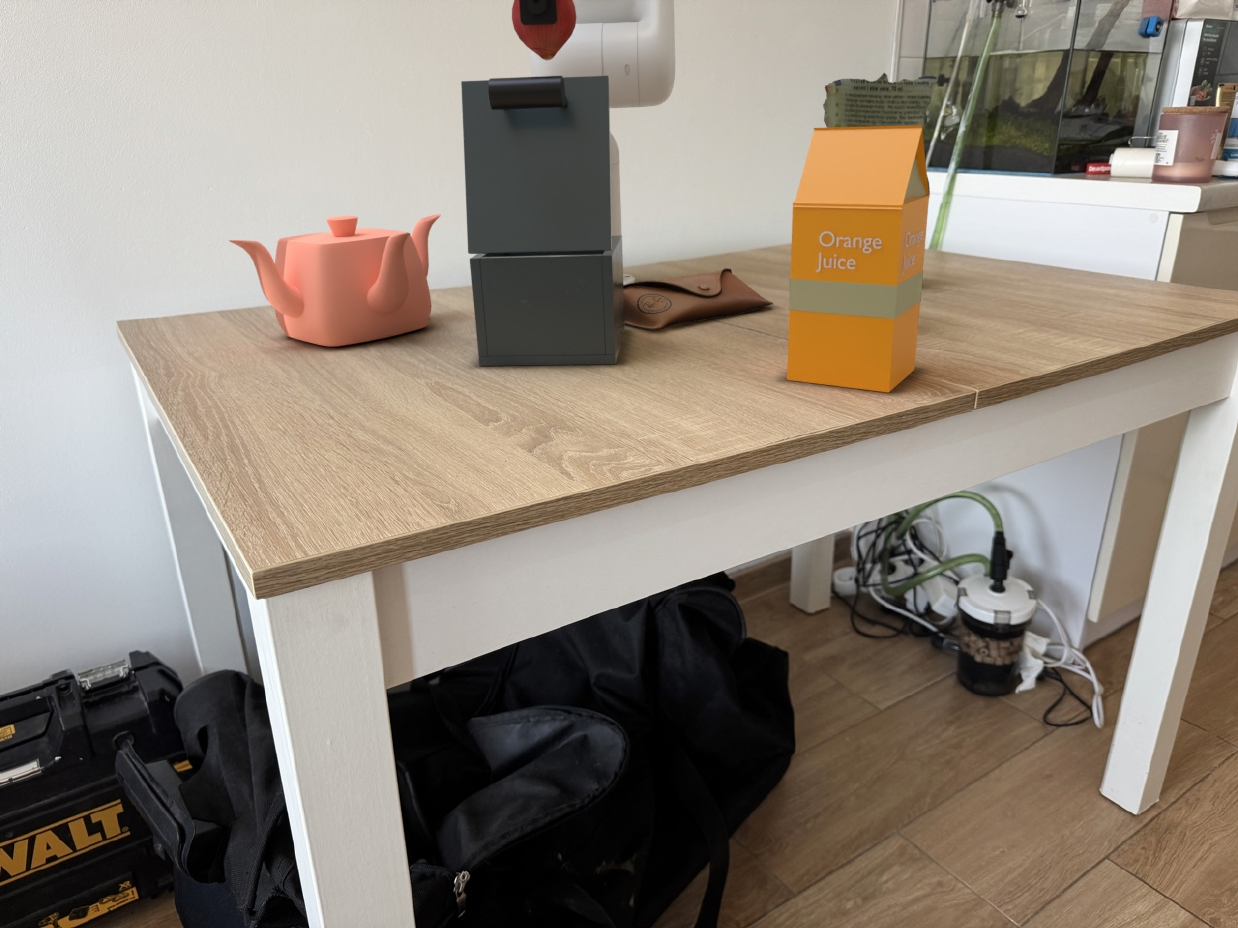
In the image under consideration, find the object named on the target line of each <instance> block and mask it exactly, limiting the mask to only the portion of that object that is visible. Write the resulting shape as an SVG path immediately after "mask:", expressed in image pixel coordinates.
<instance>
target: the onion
mask: <svg viewBox="0 0 1238 928" xmlns="http://www.w3.org/2000/svg"><path fill="white" fill-rule="evenodd" d="M557 18H558V19H557V22H556V23H555V24H548V25H523V24H522V23H521V20H520V5H519V0H513V3H512V7H511V21H512V26H513V30H514V31H515V33H516V35H517V37H518V39H519V40H520V41H521V42H522V43H523V44H524V45H525V47H527V48H528V49H530V51H531V50H532V51H533V52H535V53H536V54H537V55H538V56H540V57H541V58H542V59H544V60H551V59H553V58H554V57H555V55H556V54H557V52H558V51H559V50H560V49H561V48H562V46H563V45H564V44H565V43H566V42H567V40H568V39H569V38H570V37H571V35H572V33H573V31H574V29H575V25H576V10H575V6H574V3H573V0H557Z"/></svg>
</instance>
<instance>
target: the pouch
mask: <svg viewBox="0 0 1238 928" xmlns="http://www.w3.org/2000/svg"><path fill="white" fill-rule="evenodd" d="M938 81H939V77H938V76H934V75H932V73H929V74H924V75H922V76H918V77H917V78H916V79H912V80H911V79H904V78H903V79H900V80H898V81H893V82H892V81H889V79H888V75H887V74H886V73H885V72H883V73H882V74H881V76H880V77H878V78H877V79H875V80H873V81H872V80H871V81H870V80H868V79H865V78H840V79H836V80H833V81H832V82H830V83H828V84H827V85H826V84H825V85H824V91H825V93H826V94H825V95H826V98H825V100H824V103H823V104H822V107H823V109H824V114H823V115H824V116H823V122H824V124H825V126H826V127H825V128H832V127H876V126H919V125H922V130H923V131H924V129H925V112H926V110H927V108H928V107H929V106H930V104H931V102H932V96H933V87H934V86H935V85H936V84H937V82H938ZM927 182H928V192H929V198H930V197H931V191H930V190H931V189H930V180H929V176H927Z"/></svg>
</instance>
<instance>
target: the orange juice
mask: <svg viewBox="0 0 1238 928" xmlns="http://www.w3.org/2000/svg"><path fill="white" fill-rule="evenodd" d="M805 158H806V159H805V161H804V166H803V169H802V173H801V177H800V181H799V185H798V188H797V191H796V196H795V198H794V202H792V224H791V251H790V278H789V292H788V293H789V294H788V312H789V314H788V337H787V338H788V339H787V340H788V342H787V369H786V371H787V372H786V380H787V381H794V382H802V383H810V384H817V385H827V386H832V387H833V386H834V387H840V388H841V387H842V388H849V389H857V390H866V391H873V392H882V393H890V392H891V391H892V390H894V389H895V388H896V387H897V386H898V385H899V384H900V383H902V381H904V380H905V379H906V378H907V377H908V376H909V375H911V374H912V373H913V372H914V371H915V368H916V367H915V366H916V355H917V345H918V343H917V342H918V330H919V319H920V309H921V301H922V291H923V279H924V261H925V249H926V238H927V237H926V236H927V226H928V215H929V203H930V197H929V192H928V182H927V177H928V173H927V163H926V151H925V142H924V129H923V130H922V125H919V126H876V127H832V128H827V127H814V128H813V132H812V136H811V140H810V143H809V148H808V151H807V154H806V157H805Z"/></svg>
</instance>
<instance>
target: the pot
mask: <svg viewBox="0 0 1238 928" xmlns="http://www.w3.org/2000/svg"><path fill="white" fill-rule="evenodd" d="M441 216H442V214H438V213H437V214H432V215H429V216H426V217H422V218H421V219H419V220H418V221H417V222H416V224H415V225H414V227H413V230H412V233H411V232H408V231H403V230H394V229H384V228H373V227H360V228H359V227H358V228H357V225H358V219H359V217H358V216H356V215H336V216H334V215H333V216H330V217H327V218H325V219H326V223H327V225H328V227H329V229H330V231H323V232H314V233H307V234H299V235H293V236H287V237H282V238H279V239H278V240H277V243H276V249H275V257H274V259H273V257H272V255H271V253H270V251H269V250H268V249H267V248H266V246H264V245H263V244H262V243H261V242H260V241H256V240H242V239H228V241H229V242H230V243H232V244H234V245H236V246H237V247H239V248H241V249H243V250H244V251H245V252H246V254H248V256H249V257H250V259H251V260H252V262H253V265H254V268H255V270H256V273H257V276H258V279H259V280H258V281H259V285H260V287H261V290H262V292H263V295H264V297H265V299H266V300H267V301H268V303H269V304H270V306H272V307H273V309H274V314H275V318H276V320H277V322H278V324H279V326H280V328H281V329H282V331H283V333H284V335H285V336H286V337H289V338H292V339H295V340H299V341H302V342H306V343H308V344H310V343H311V344H314V345H319V346H324V347H341V346H342V347H343V346H348V345H354V344H359V343H366V342H372V341H376V340H381V339H386V338H390V337H394V336H399V335H402V334H406V333H410V332H413V331H417V330H421V329H423V328H426V327H427V326H428V324H429V322H430V318H431V314H432V297H431V292H430V287H429V283H428V274H429V267H430V266H429V265H430V264H429V263H430V261H429V236H430V232H431V230H432V227H433V225H434V224H435V223H436V222H437V220H438V219H440V217H441Z"/></svg>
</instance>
